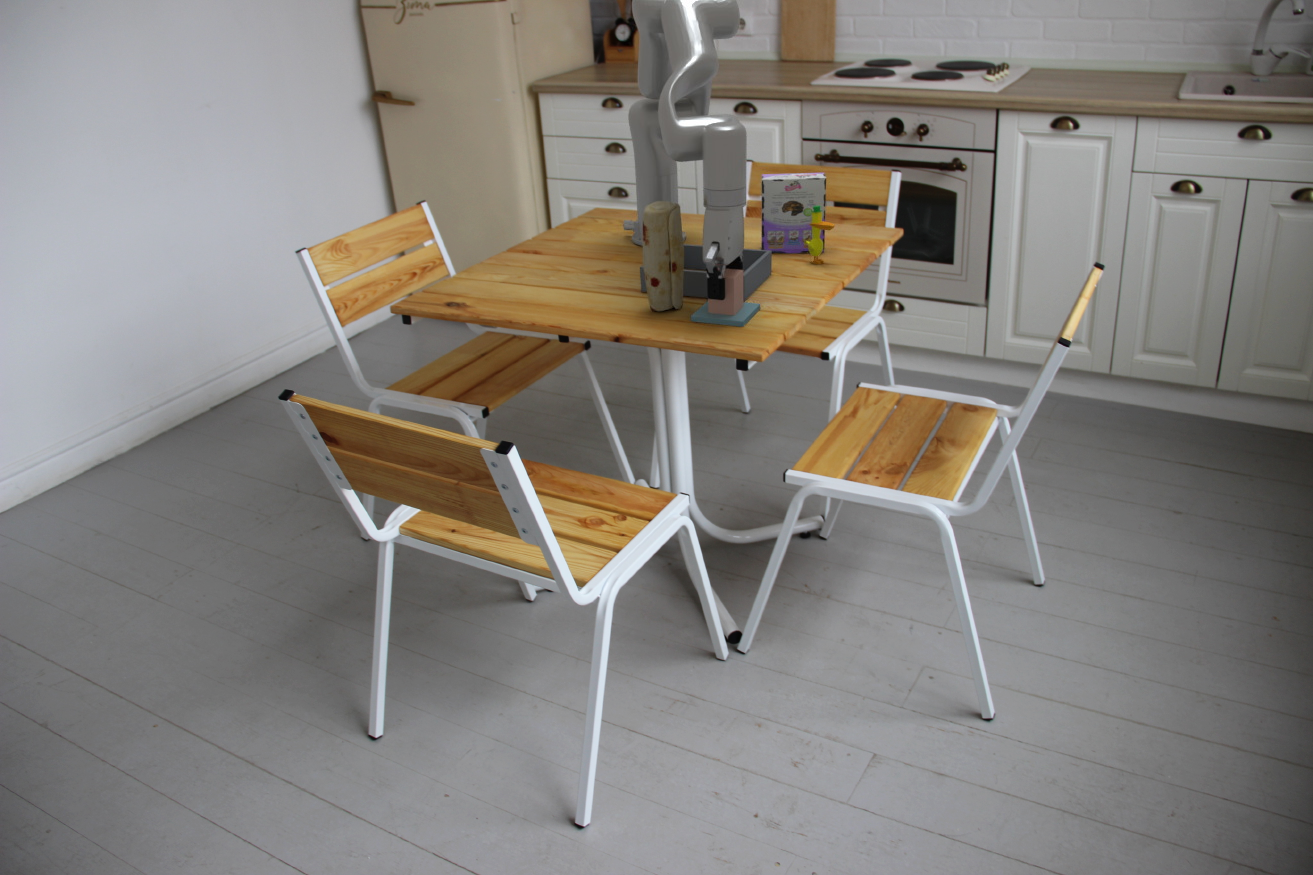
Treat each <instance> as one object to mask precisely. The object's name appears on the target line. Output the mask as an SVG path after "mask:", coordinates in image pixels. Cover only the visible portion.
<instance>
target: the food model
mask: <svg viewBox="0 0 1313 875" xmlns="http://www.w3.org/2000/svg"><path fill="white" fill-rule="evenodd" d="M681 213H682V212H681V205H680V204H679V203H678V204H676V203H671V202H669V201H657V202H653V203H651V204H649V205H648V206H646V208H645V210H644V213H643V246H642V262H643V264H642V265H643V268H644V275H645V282H646V288H647V292H646V294H647V299H648V300H647V301H648V303H649V304H648V305H649V308H650V310H651V311H655V312H663V311H666V310H671V309H673V308H674V309H675V310H679V309H681V308H682V305H683V297H684V296H683V273H684V270H685V268H684V244H685V243H684V241H683V235H682V231H683V225H682V222H683V221H682V214H681Z"/></svg>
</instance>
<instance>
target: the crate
mask: <svg viewBox="0 0 1313 875" xmlns="http://www.w3.org/2000/svg"><path fill="white" fill-rule="evenodd" d="M683 244H684V273H683V297H685V296H686V297H693V298H694V297H696V298H706V299H708V297H707V276H706V275H707V272H706V264H705V263H704V262H703V260H702V250H703V244H702V245H701V244H688V243H687V244H686V243H683ZM742 254H743V261H740V262H743V302H746V301H747V299H748V298H749V297H751V295H752V294H754V292H756V290H757V289H759V287H760V286H761V285H763V284H764V282H766V281H767V280H768V278H769V277H770V276H771V275H772V266H773V265H772V260H773V259H772V251H770V250H761V249H756V248H755V249H753V248H744V249H743V252H742ZM715 260H716V259H715ZM717 261H723V260H717ZM715 267H717V268H720V266H715ZM725 269H726V266H725ZM639 277H640V292H645V293H647V288H646V282H645V275H644V268H643V264H642V265H641V266H639Z"/></svg>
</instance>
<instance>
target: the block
mask: <svg viewBox="0 0 1313 875" xmlns="http://www.w3.org/2000/svg"><path fill="white" fill-rule="evenodd" d="M718 270H720V268H718ZM723 278H725V299H724V300H714V299H708V298H707V301H708V313H715V314H724V315H733V316H734V315H735V314H736V313H737V312H738V311H739V310H741V309H742V308H743V302H744V301H743V270H736V269H725V271H724V275H723Z"/></svg>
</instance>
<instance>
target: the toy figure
mask: <svg viewBox="0 0 1313 875" xmlns="http://www.w3.org/2000/svg"><path fill="white" fill-rule="evenodd" d="M813 210H814V211H812V212H813V213H812V223H810V224H809V225H810V226H812V235H813V238H812V240H811V241H810V242H809V241H806V242H807V245H808V247H809V252H810V253H809V254H810V255H811V256H812V257H813V260H812V261H811V264H815V265H822V264H824V262H825V261H824V260H823V259H822V258H819V257H820V255H821V254H822V253H823V252H822V251H823V241H822V240H821V239H820V233H821V229H823V230H825V231H832V230H833V229H834V228H835V226H836V225H835V224H834V223H833V222H828V221H825V222H824V221H822V212H821V211H822V210H820V206H813Z"/></svg>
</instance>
